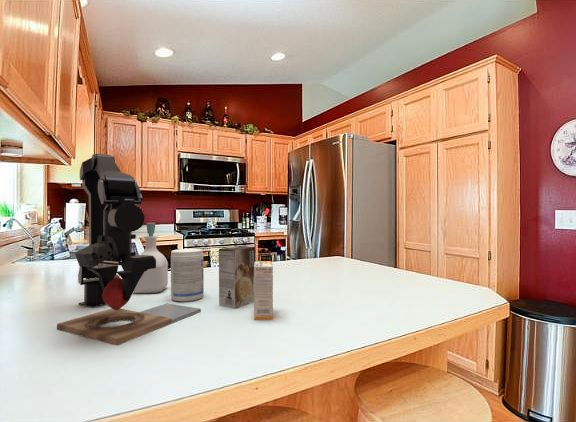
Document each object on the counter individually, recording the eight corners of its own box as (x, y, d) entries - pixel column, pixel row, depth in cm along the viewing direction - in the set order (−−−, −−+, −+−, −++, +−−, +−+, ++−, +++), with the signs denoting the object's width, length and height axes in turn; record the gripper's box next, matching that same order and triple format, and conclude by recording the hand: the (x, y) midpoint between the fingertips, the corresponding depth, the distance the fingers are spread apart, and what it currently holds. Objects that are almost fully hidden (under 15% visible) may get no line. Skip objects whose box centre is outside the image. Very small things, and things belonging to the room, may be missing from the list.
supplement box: (253, 310, 86) (253, 261, 86) (271, 309, 86) (272, 260, 86) (253, 320, 77) (253, 265, 78) (273, 319, 78) (273, 265, 78)
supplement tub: (209, 298, 98) (209, 250, 98) (179, 304, 91) (179, 252, 91) (194, 292, 105) (194, 247, 105) (165, 298, 98) (165, 249, 98)
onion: (137, 307, 75) (137, 273, 75) (116, 315, 69) (116, 278, 70) (117, 305, 77) (118, 272, 77) (96, 312, 71) (96, 276, 71)
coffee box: (239, 298, 98) (239, 245, 98) (256, 301, 95) (256, 246, 95) (217, 305, 90) (218, 248, 90) (235, 309, 87) (235, 249, 87)
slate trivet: (129, 318, 79) (129, 315, 79) (166, 306, 89) (167, 303, 89) (165, 325, 73) (165, 322, 73) (200, 311, 84) (200, 308, 84)
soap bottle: (140, 288, 112) (140, 222, 112) (169, 287, 113) (169, 222, 113) (130, 294, 102) (130, 223, 103) (161, 294, 103) (161, 223, 104)
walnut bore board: (56, 329, 71) (56, 323, 71) (114, 312, 84) (114, 307, 84) (117, 345, 63) (117, 338, 63) (171, 323, 75) (171, 318, 75)
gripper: (55, 231, 70) (54, 302, 70) (112, 233, 62) (111, 314, 62) (103, 229, 80) (103, 291, 80) (158, 230, 72) (157, 300, 72)
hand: (117, 298), depth 73 cm, fingers closed on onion, 6 cm apart
